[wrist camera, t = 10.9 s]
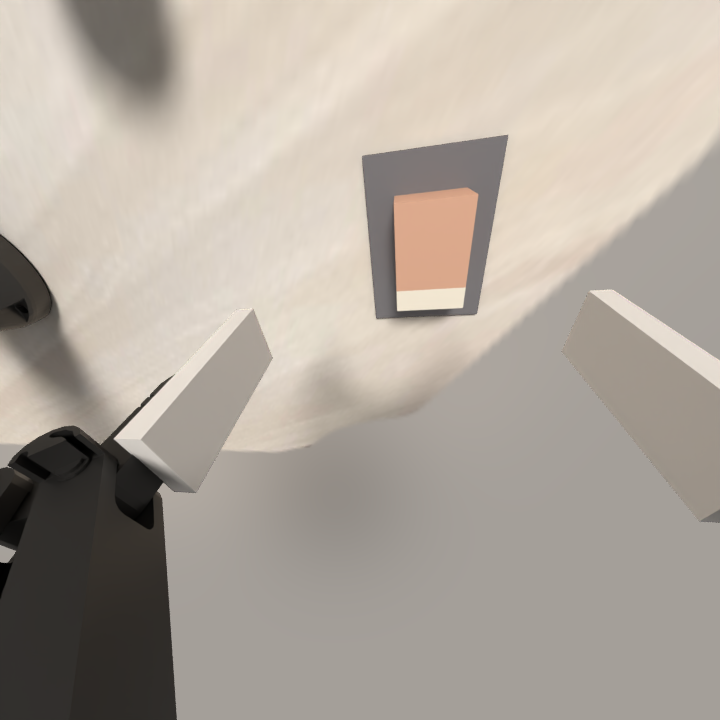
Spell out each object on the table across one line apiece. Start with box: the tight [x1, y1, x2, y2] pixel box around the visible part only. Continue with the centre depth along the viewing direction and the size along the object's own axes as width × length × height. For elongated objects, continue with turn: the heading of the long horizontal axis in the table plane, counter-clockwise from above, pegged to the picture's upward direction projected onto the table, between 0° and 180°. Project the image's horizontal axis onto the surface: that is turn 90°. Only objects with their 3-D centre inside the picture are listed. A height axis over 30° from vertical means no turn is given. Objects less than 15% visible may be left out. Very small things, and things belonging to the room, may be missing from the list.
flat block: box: [394, 187, 478, 311], centre depth 24 cm, size 9×6×4 cm, turn 7°
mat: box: [362, 135, 508, 318], centre depth 25 cm, size 11×15×1 cm
